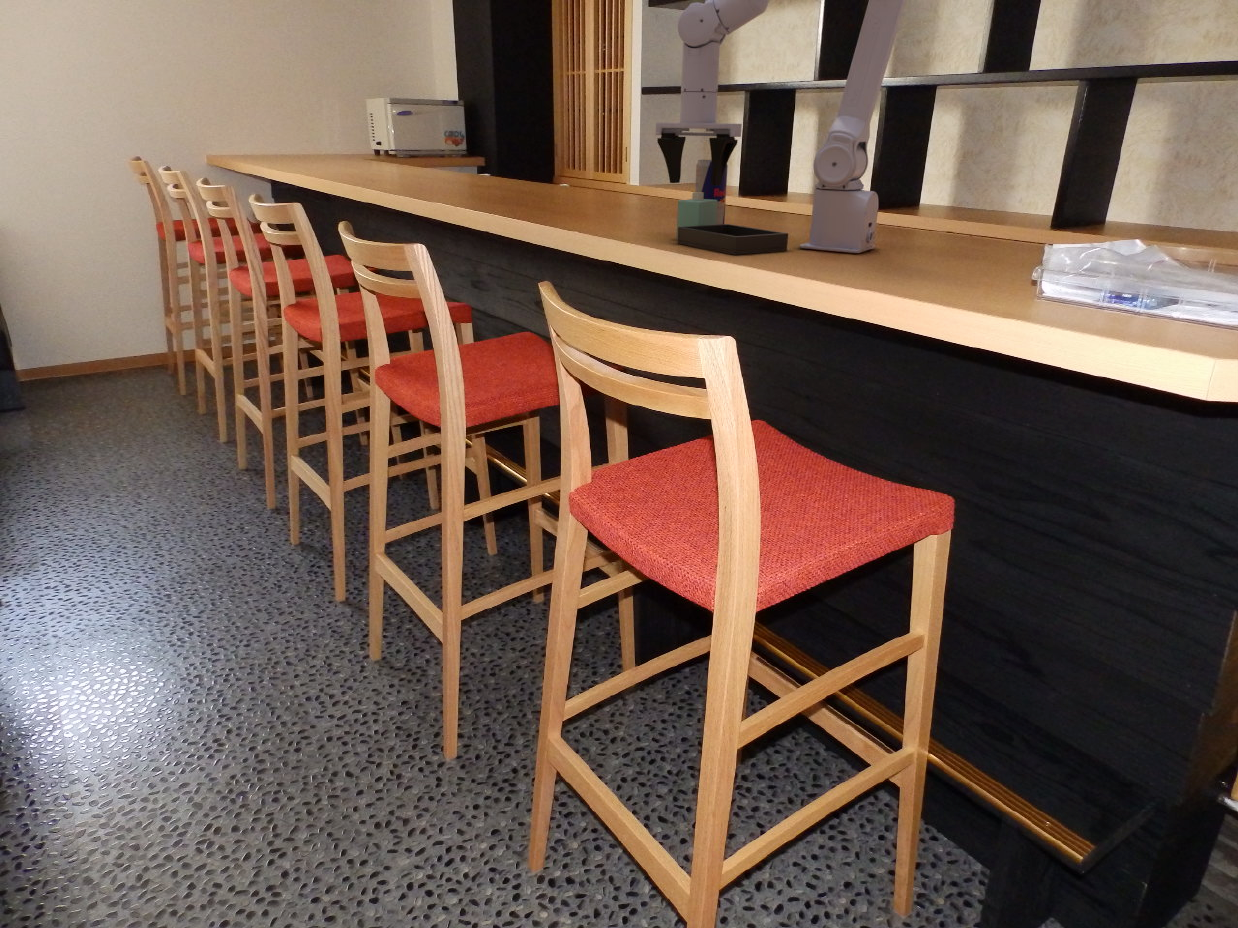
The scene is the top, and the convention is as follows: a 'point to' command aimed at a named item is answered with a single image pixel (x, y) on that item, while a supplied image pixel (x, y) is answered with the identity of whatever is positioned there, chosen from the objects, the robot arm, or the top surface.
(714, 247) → the tray
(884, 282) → the top surface
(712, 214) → the detergent bottle
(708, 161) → the energy drink
